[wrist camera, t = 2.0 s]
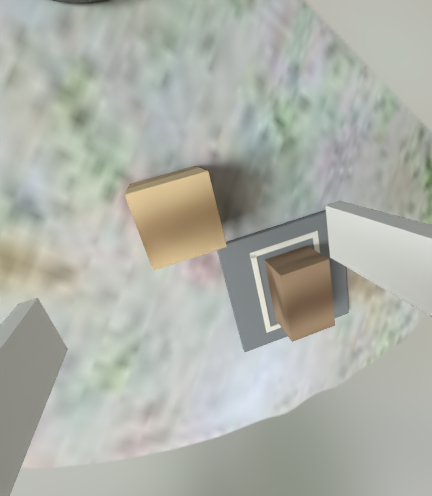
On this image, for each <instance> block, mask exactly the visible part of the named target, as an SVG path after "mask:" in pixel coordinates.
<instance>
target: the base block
mask: <svg viewBox="0 0 432 496" xmlns="http://www.w3.org/2000/svg"><path fill="white" fill-rule="evenodd" d="M264 262H265V267H266V272H267V277H268V282H269V288H270V293H271V298H272V303H273V308H274V314H275V319H276V321H277V322H278V323H279V325H280V326H281V327H282V329H283V330H284V331H285V333H286V334H287V335H288V337H289V338H290V339H291V341H292V342H293V341H295V340H298V339H300V338H303V337H306V336H308V335H311V334H314V333H316V332H319V331H321V330H324V329H327V328H329V327H332V326H334V325H335V319H334V308H333V296H332V285H331V274H330V263H329V259H328V258H327V257H325V256H323V255H322V254H320V253H318V252H317V251H315V250H313V249H312V248H310V247H308V246H304V247H301V248H298V249H295V250H292V251H289V252H286V253H283V254H280V255H277V256H274V257H271V258H268V259H265V260H264Z"/></svg>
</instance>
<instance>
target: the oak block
mask: <svg viewBox="0 0 432 496" xmlns="http://www.w3.org/2000/svg"><path fill="white" fill-rule="evenodd" d="M125 197H126V200H127V202H128V205H129V207H130V210H131V213H132V215H133V218H134V221H135V223H136V226H137V229H138V231H139V234H140V237H141V239H142V242H143V245H144V247H145V250H146V253H147V255H148V258H149V261H150V263H151V266H152V269H153V271H154V270H157V269H160V268H163V267H166V266H169V265H172V264H175V263H178V262H181V261H185V260H188V259H191V258H194V257H197V256H200V255H203V254H206V253H209V252H212V251H216V250H219V249H222V248H225V247H227V245H226V241H225V237H224V233H223V229H222V225H221V221H220V217H219V213H218V209H217V205H216V200H215V196H214V192H213V188H212V184H211V180H210V176H209V172H208V171H207V170H204V169H201V168H199V167H196V166H194V167H190V168H187V169H183V170H179V171H176V172H172V173H169V174H165V175H161V176H158V177H154V178H151V179H147V180H144V181H140V182H136V183H133V184H130V185H129V187H128V189H127V191H126V193H125Z"/></svg>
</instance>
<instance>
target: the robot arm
mask: <svg viewBox="0 0 432 496" xmlns="http://www.w3.org/2000/svg"><path fill="white" fill-rule="evenodd" d="M54 1H59V2H67V3H86V2H93V1H97V0H54ZM325 207H326V218H327V229H328V240H329V251H330V258H332V259H334V260H335V261H337V262H339V263H340V264H342V265H344V266H346V267H347V268H349V269H351V270H352V271H354V272H356V273H358V274H359V275H361V276H363V277H364V278H366V279H368V280H370V281H371V282H373V283H375V284H376V285H378V286H380V287H382V288H383V289H385V290H387V291H388V292H390V293H392V294H393V295H395V296H397V297H399V298H400V299H402V300H404V301H405V302H407V303H409V304H411V305H412V306H414V307H416V308H417V309H419V310H421V311H423V312H424V313H426V314H428V315H430V316H431V317H432V225H429V224H425V223H422V222H418V221H414V220H410V219H406V218H403V217H399V216H395V215H391V214H387V213H384V212H380V211H376V210H372V209H368V208H365V207H361V206H357V205H353V204H349V203H346V202H342V201H338V202H335V203H332V204H329V205H326V206H325ZM67 350H68V348H67V347H66V345H65V343H64V342H63V340H62V338H61V337H60V335H59V333H58V331H57V330H56V328H55V326H54V325H53V323H52V321H51V320H50V318H49V316H48V314H47V313H46V311H45V309H44V308H43V306H42V304H41V303H40V301H39V299H38V298H36V299H33V300H30V301H27V302H23V303H20V304H18V305H17V306H16V307H15V309H14V310H13V311H12V312H11V313H10V315H9V316H8V317H7V318H6V319H5V321H4V322H3V323H2V324H1V325H0V496H10V493H11V491H12V488H13V486H14V483H15V481H16V478H17V476H18V473H19V471H20V468H21V466H22V463H23V461H24V458H25V456H26V453H27V451H28V448H29V446H30V443H31V440H32V438H33V435H34V433H35V430H36V428H37V425H38V423H39V420H40V418H41V415H42V413H43V410H44V408H45V405H46V403H47V400H48V398H49V395H50V393H51V390H52V388H53V385H54V383H55V380H56V377H57V375H58V372H59V370H60V367H61V365H62V362H63V360H64V357H65V355H66V352H67Z"/></svg>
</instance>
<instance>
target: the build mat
mask: <svg viewBox="0 0 432 496" xmlns="http://www.w3.org/2000/svg"><path fill="white" fill-rule="evenodd" d="M226 245H227V247H225V248H222V249H219V250H217V251H218V255H219V259H220V262H221V266H222V270H223V274H224V278H225V281H226V285H227V289H228V293H229V297H230V300H231V304H232V308H233V312H234V316H235V319H236V323H237V327H238V331H239V334H240V338H241V342H242V346H243V349H244V351H245V352H247V351H250V350H252V349H255V348H258V347H260V346H263V345H266V344H268V343H271V342H273V341H276V340H279V339H281V338H284V337H287V336H288V335H287V334H286V333H285V331H284V330H283V329H282V327H281V326H280V325H279V323H278V322H277V321H276V319H275V314H274V308H273V303H272V298H271V293H270V288H269V282H268V277H267V272H266V267H265V262H264V260H265V259H268V258H271V257H274V256H277V255H280V254H283V253H286V252H289V251H292V250H295V249H298V248H301V247H304V246H308V247H310V248H312V249H313V250H315V251H317V252H318V253H320V254H322V255H323V256H325V257H327V258H328V259H329V263H330V274H331V285H332V296H333V308H334V318H337V317H339V316H342V315H345V314H347V313H349V311H348V295H347V280H346V266H344V265H342V264H340V263H339V262H337V261H335V260H334V259H332V258H330V251H329V240H328V229H327V218H326V210H325V211H322V212H319V213H315V214H312V215H309V216H306V217H303V218H300V219H297V220H294V221H291V222H287V223H284V224H281V225H278V226H275V227H272V228H269V229H266V230H263V231H259V232H256V233H253V234H250V235H247V236H244V237H241V238H238V239H235V240H231V241H228V242H226Z"/></svg>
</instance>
